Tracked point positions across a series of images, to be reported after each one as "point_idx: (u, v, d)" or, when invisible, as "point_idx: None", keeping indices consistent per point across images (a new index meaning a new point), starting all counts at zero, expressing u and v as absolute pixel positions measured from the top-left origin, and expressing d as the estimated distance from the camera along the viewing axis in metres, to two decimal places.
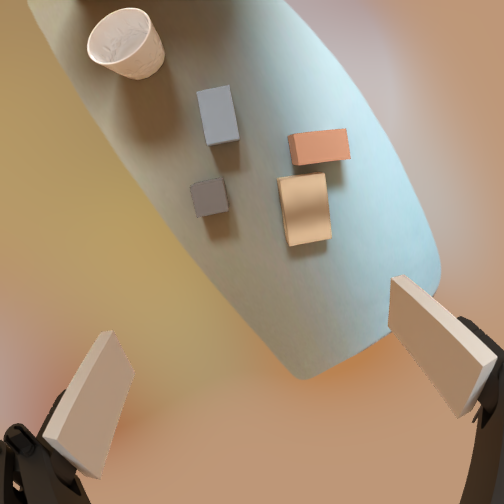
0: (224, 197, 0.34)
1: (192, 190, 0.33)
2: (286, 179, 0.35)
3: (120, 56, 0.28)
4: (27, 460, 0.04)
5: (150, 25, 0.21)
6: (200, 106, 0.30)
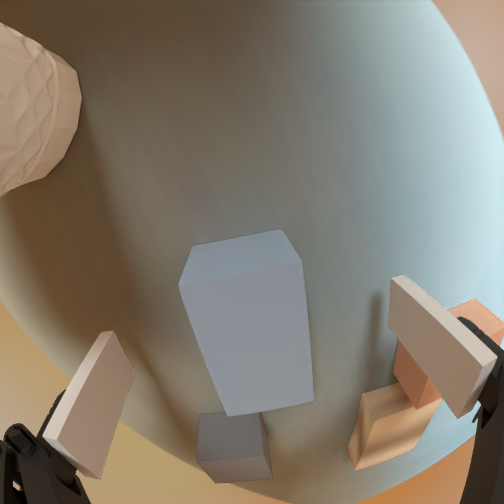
0: (267, 469, 0.13)
1: (203, 465, 0.13)
2: (385, 417, 0.14)
3: None
4: (27, 460, 0.04)
5: None
6: (199, 335, 0.09)
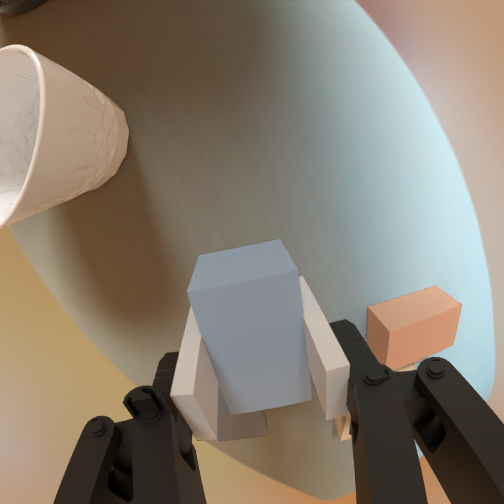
0: (262, 423, 0.18)
1: None
2: None
3: None
4: (147, 427, 0.06)
5: (45, 101, 0.06)
6: (205, 337, 0.10)
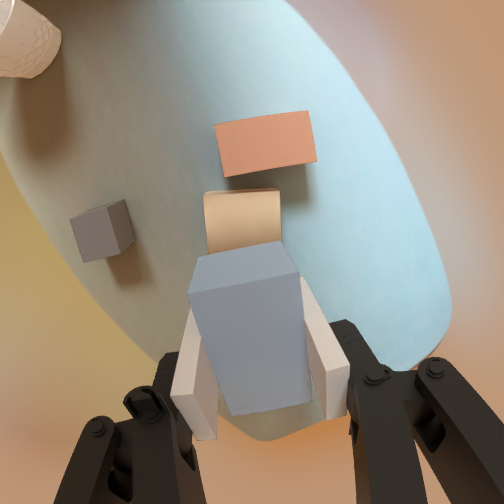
0: (113, 234, 0.21)
1: (73, 225, 0.20)
2: (213, 196, 0.21)
3: None
4: (147, 427, 0.06)
5: (13, 9, 0.08)
6: (205, 339, 0.10)
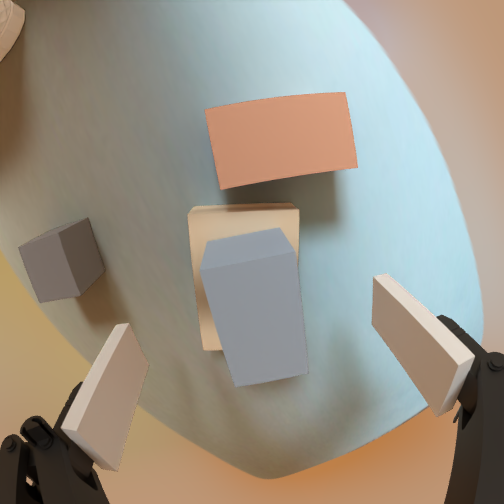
0: (68, 269, 0.14)
1: (22, 255, 0.13)
2: (203, 215, 0.15)
3: None
4: (44, 453, 0.05)
5: None
6: (214, 312, 0.12)
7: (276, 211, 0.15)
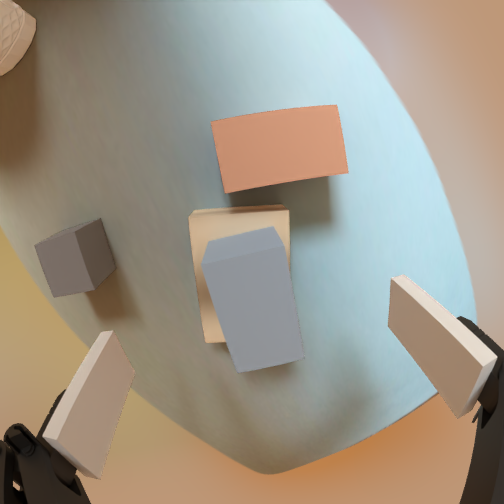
0: (83, 265, 0.15)
1: (38, 252, 0.15)
2: (202, 218, 0.16)
3: None
4: (27, 460, 0.04)
5: None
6: (215, 302, 0.14)
7: (268, 212, 0.16)
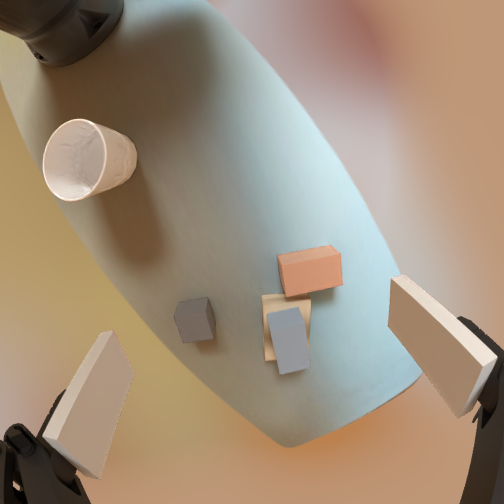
0: (208, 327, 0.33)
1: (176, 320, 0.33)
2: (270, 304, 0.34)
3: (87, 159, 0.28)
4: (27, 460, 0.04)
5: (106, 150, 0.21)
6: (274, 344, 0.31)
7: (301, 301, 0.34)
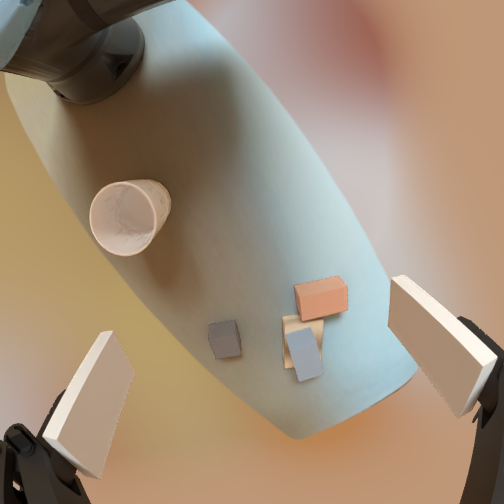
0: (237, 346, 0.40)
1: (210, 341, 0.39)
2: (290, 324, 0.41)
3: (124, 205, 0.34)
4: (27, 460, 0.04)
5: (155, 214, 0.27)
6: (293, 360, 0.38)
7: (315, 321, 0.41)
